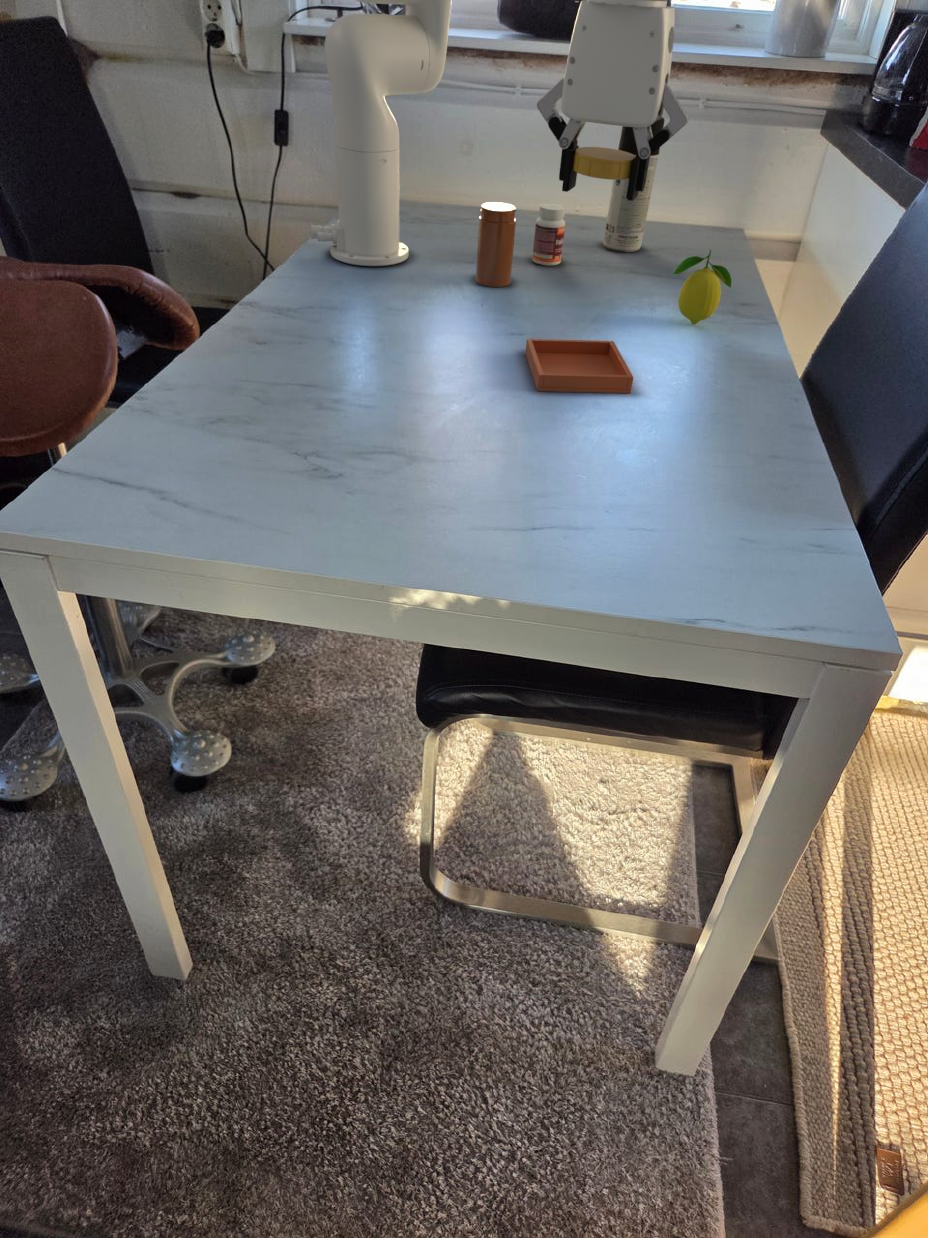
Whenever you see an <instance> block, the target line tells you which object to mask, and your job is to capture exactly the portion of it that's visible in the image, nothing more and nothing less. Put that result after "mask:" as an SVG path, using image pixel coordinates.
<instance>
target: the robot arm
mask: <svg viewBox="0 0 928 1238" xmlns="http://www.w3.org/2000/svg"><path fill="white" fill-rule="evenodd" d="M356 1H358V2H360V3H367V4H376V5H377V4H379V5H405V14H387V13H352V14H347V15H343V16H342V17H339V18H338V19H336V20H334V22H333V23H332V24H331V25H330V26H329V28H328V30H327V31H326V35H325V40H324V57H325V64H326V70H327V75H328V80H329V85H330V91H331V97H332V105H333V116H334V133H335V134H334V137H335V157H336V160H335V161H336V182H337V183H336V184H337V206H338V211H337V212H338V218H337V221H336V223H335V224H333V223H331V224H330V226H323V225H310V236H311V237H310V238H311V239H312V240H313V239H314V240H315V239H317V242H323V243H325V242H326V243H327V242H332V243H331V244H330V247H329V251H330V252H329V253H330V255H331V257H332V258H334V259H335V260H337V261H339V262H342V263H345V264H349V265H353V266H362V267H385V266H386V267H387V266H391V265H392V266H393V265H396V264H397V265H398V264H400V263H403V262H405V261H406V260H407V259H408V258H409V256H410V250H409V247H408V245H406V244H405V243H403V242H401V241H400V176H401V175H400V163H401V161H400V153H401V152H400V130H399V125H398V122H397V120H396V118H395V116H394V115H393V112H392V111H391V108H390V107H389V105H388V103H387V101H386V98H385V97H386V96H387V97H388V96H392V95H394V96H395V95H418V94H425V93H429V92H432V91H433V90H434V89H436V87H438V85H439V84H440V81H441V80H442V77H443V74H444V70H445V67H446V66H445V65H446V61H447V60H446V59H447V52H448V51H447V49H448V41H449V31H450V23H451V22H450V21H451V14H452V13H451V12H452V3H453V0H356ZM675 20H676V9H675V6H670V5H669V6H668V0H581V1H580V4H579V7H578V10H577V15H576V18H575V22H574V26H573V30H572V34H571V39H570V43H569V49H568V54H567V61H566V64H565V71H564V76H563V77H561V79H559V80H558V81H557V83H555V84H554V85H553V86H552V87H551V88H550V89H549V90H548V91H547V92H546V93H545V94H544V95H543V96H542V97H540V99H538V101H537V103H536V107H537V110H538V111H539V113H540V115H541V116H542V117H543V119H544V121H545V122H546V123H547V125H548V128H549V130H550V131H551V133H552V134H553V136H554V137H555V139H556V140H557V142H558V146H559V147H560V148H561V156H560V166H559V173H558V174H559V175H558V181H562V187H561V191H562V192H566V193H568V192H570V191H571V190H572V189H574V188H575V187H576V185H577V178H578V173H577V172H575V171H574V170H573V161H574V154H575V150H576V149H577V148H580V146H579V145H578V143H579V141H578V138H579V136H580V135H581V133H582V131H583V129H584V127H585V125H586V123H591V124H601V125H610V126H618V127H622V126H626V127H633V131H634V136H635V141H636V145H637V150H638V151H637V152H636V157H635V158H633V160H632V164H631V170H630V177H629V183H628V189H627V195H626V199H628V200H629V201H633V200H634V199H635V198H636V197H637V196H638V193H639V191H641V192H643V190H644V188H645V183H646V177H647V171H648V165H649V159H650V155H651V154H653V153H654V152H655V151H656V150H657V149H659V148H660V149H661V147H662V146H663V145H665V144H666V143H667V142H668V141H669V140H670V139H672V138H673V137H674V136H675V135H676V134H677V133H678V132H680V130H681V129H682V128H684V127H685V126H686V125H687V124H689V121H690V117H689V116H690V115H688V113H687V112H686V110H685V109H684V107H683V105H682V104H681V102H680V101H679V99H678V98H677V96H676V95H675V93H674V92H673V90H672V89H671V87H670V86H669V84H670V78H671V77H670V76H671V70H672V69H671V68H672V61H673V50H674V39H675V23H676V21H675ZM559 100H561V106H560V107H561V112H562V114H563V115H564V116H566V117H567V118H568V119H569V120H568V122H567V123H566V121H565V120H564V118H563V116H561V115H560V113H559V111H558V110H557V107H556V105H557V103H558V102H559ZM665 112H666V113H667V115H668V116H669V122H668V123H667V124H666V125H664V127H663V129H662V130H661V131H659V132H658V133H657V134H656V135H655V136H654V137H653V135H652V130H651V125H652V124H653V123H654V122H655V121H657V120H659V119H660V118H661V117H663V116H664V113H665Z"/></svg>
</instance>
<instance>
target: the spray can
mask: <svg viewBox="0 0 928 1238" xmlns="http://www.w3.org/2000/svg"><path fill="white" fill-rule="evenodd" d="M664 127H665V118H664V117H663V116H662V117H661V118H660V119H659V120H657V121H655V122H654V123H653V124H652V125H651V130H652V135H653V137H654V136H655V135H656V134H657V133H658V132H659V131H661V130H662V129H663V128H664ZM617 150H621V151H625V152H628V153H631V154H633V155H635V156H636V152H637V151H638V150H637V145H636V141H635V136H634V131H633V127H626V126H621V132H620V138H619V144H618V148H617ZM660 150H661V147H660V148H659V149H657V150H656V151H655V152H654V153H653V154H651V155H650V159H649V165H648V171H647V177H646V183H645V188H644V190H643V192H641V191H639V193H638V196H637V197H636V198H635V199H634V200H633V201H629V200H628V199H626V195H627V189H628V183H629V179H623V180H612V186H611V193H610V199H609V203H608V210H607V217H606V224H605V229H604V236H603V247H604V248H605V249H607V250H610V251H612V252H617V253H633V252H637V251H639V250H640V249H641V247H642V243H643V237H644V233H645V228H646V222H647V218H648V212H649V208H650V201H651V196H652V191H653V185H654V180H655V175H656V170H657V165H658V161H659V160H658V159H659V154H660Z"/></svg>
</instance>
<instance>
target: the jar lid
mask: <svg viewBox="0 0 928 1238" xmlns="http://www.w3.org/2000/svg"><path fill="white" fill-rule="evenodd" d="M635 157H636V156H635V155H633V154H631V153H628V152H625V151H621V150H618V149H615V148H610V147H602V146H601V147H600V146H581V147H579V148H577V149H576V150H575V154H574V161H573V170H574V171H575V172H577V174H579V175H582V176H586V177H590V178H594V179H601V180H612V181H613V180H623V179H629V177H630V170H631V164H632V160H633V158H635Z"/></svg>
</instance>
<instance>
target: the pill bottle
mask: <svg viewBox="0 0 928 1238" xmlns="http://www.w3.org/2000/svg"><path fill="white" fill-rule="evenodd" d="M538 210H539V212H538V216H539V217H538V218H537V219H536V220H535V228H534V236H533V237H534V238H533V247H532V255H531V256H532V257H531V260H532V262H533V263H535V264H537V265H541V266H548V267H549V266H557V265H559V264H561V262H562V254H563V248H564V239H565V231H566V221H565V220H564V219H563V218H565V212H566V207H565V206H563V205H561V204H555V203H542V204H540V205H539V209H538Z"/></svg>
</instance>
